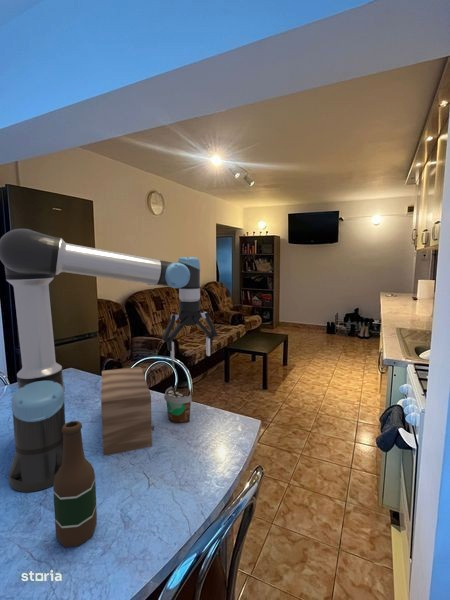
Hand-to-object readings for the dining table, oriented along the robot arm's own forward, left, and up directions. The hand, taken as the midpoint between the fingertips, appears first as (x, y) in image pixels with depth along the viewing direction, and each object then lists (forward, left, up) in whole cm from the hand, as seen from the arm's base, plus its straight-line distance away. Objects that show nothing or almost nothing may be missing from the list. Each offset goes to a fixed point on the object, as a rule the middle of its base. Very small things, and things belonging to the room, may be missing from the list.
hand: (190, 357), depth 115 cm
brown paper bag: (-3, +24, -22) cm, 32 cm away
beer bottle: (-43, +36, -22) cm, 60 cm away
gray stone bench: (-3, +18, -22) cm, 28 cm away
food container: (-3, +7, -22) cm, 23 cm away
